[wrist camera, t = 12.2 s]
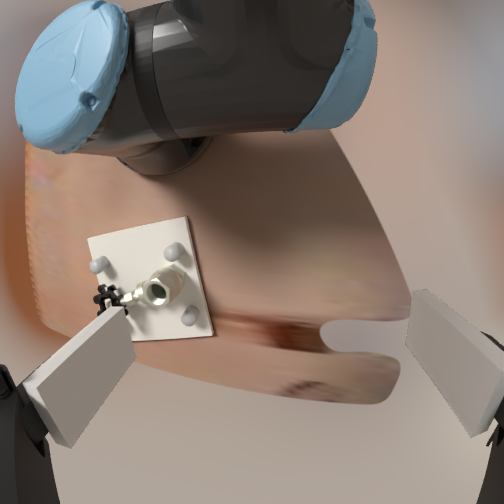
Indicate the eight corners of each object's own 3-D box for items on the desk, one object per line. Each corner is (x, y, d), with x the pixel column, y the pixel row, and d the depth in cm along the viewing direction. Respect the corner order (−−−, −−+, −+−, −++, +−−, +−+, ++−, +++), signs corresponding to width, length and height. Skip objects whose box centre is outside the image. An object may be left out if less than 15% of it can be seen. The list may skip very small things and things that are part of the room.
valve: (175, 248, 38) (109, 278, 40) (158, 261, 31) (85, 294, 33) (197, 292, 39) (129, 317, 41) (184, 313, 33) (110, 338, 34)
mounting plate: (90, 237, 39) (77, 242, 36) (186, 216, 38) (179, 219, 34) (121, 338, 43) (112, 349, 40) (213, 332, 41) (209, 344, 38)
